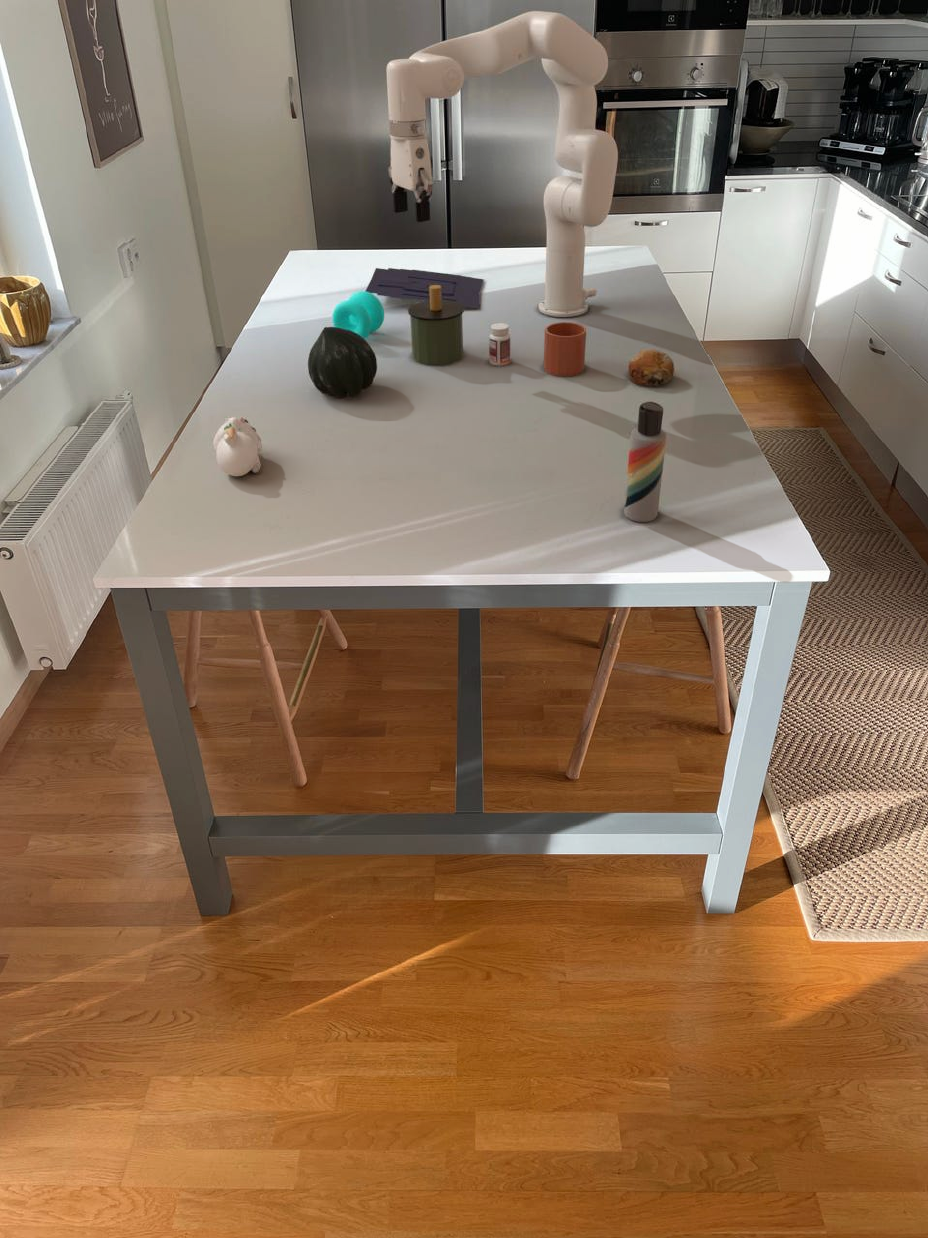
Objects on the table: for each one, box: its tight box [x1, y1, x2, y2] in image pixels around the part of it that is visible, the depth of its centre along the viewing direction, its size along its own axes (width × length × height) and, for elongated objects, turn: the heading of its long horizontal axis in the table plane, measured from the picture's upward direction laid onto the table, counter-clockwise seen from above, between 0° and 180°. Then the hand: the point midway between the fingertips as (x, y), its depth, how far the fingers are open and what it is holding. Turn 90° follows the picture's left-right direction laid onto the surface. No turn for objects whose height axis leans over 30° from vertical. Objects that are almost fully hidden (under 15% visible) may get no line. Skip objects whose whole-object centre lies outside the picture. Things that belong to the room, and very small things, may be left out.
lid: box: [407, 285, 465, 321], centre depth 215 cm, size 13×13×6 cm
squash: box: [307, 326, 378, 399], centre depth 204 cm, size 14×15×15 cm
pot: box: [409, 313, 464, 367], centre depth 219 cm, size 12×12×10 cm
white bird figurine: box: [213, 416, 263, 477], centre depth 178 cm, size 10×8×15 cm
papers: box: [365, 267, 485, 309], centre depth 257 cm, size 24×30×4 cm
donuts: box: [332, 290, 385, 340], centre depth 231 cm, size 10×10×10 cm
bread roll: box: [628, 348, 675, 387], centre depth 208 cm, size 10×10×8 cm
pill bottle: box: [488, 322, 511, 367], centre depth 216 cm, size 5×5×8 cm
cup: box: [543, 321, 587, 377], centre depth 212 cm, size 9×9×9 cm
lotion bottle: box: [623, 401, 667, 523], centre depth 157 cm, size 6×6×20 cm
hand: (411, 216), depth 207 cm, fingers open, 9 cm apart
